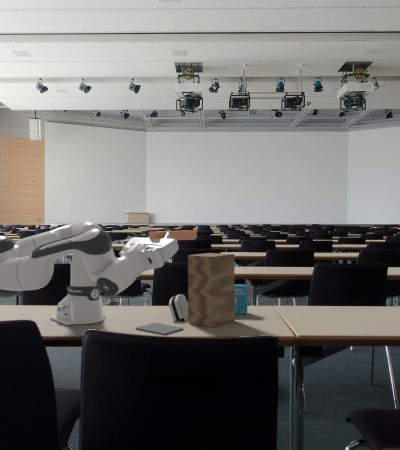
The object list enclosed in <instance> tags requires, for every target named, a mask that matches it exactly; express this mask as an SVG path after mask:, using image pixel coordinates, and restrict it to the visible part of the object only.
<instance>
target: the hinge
mask: <svg viewBox="0 0 400 450" xmlns="http://www.w3.org/2000/svg"><path fill="white" fill-rule="evenodd" d="M168 302H169V303H168V307H169V310H170V314H171V316H172V319H173V321H174V322H175V321H178V320H182V319H184V322H188V299H187V297H186V296H185V294H183V293H181V294H177V295H174V296H172V297H171V298H170V299H169V301H168Z"/></svg>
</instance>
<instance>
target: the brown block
mask: <svg viewBox="0 0 400 450" xmlns="http://www.w3.org/2000/svg"><path fill="white" fill-rule="evenodd" d="M234 284H235V254H234V253H233V254H232V253H218V252H217V253H216V252H215V253H214V252H208V253H207V252H206V253H198V254H189V255H187V302H188V320H187V322H188V324H192V325H197V326H202V327H208V328H216V327H219V326H222V325H225V324H226V325H227V324H228V323H231V322H235V316H236V315H235V294H234Z"/></svg>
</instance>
